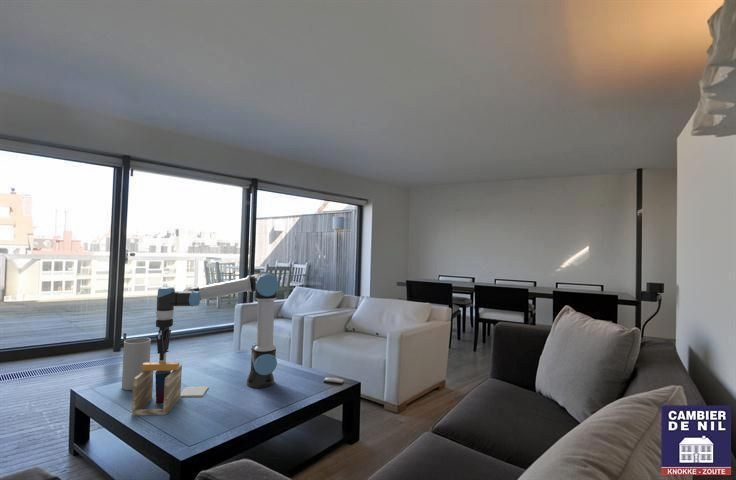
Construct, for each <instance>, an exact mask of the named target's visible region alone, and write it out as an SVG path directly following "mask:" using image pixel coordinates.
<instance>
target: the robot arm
mask: <svg viewBox="0 0 736 480" xmlns="http://www.w3.org/2000/svg"><path fill="white" fill-rule="evenodd" d="M175 289H176V288H175V287H173V286H164V287H159V288H158V289H157V294H156V295H157V296H156V311H155V314H156V316H155V318H156V320H155V327H156V328H158V334H156V336H155V337H156V345H157V346H156V348H157V352H156V353H157V354H159V355H158V362H167V353H169V347H170V340H171V332H172V330H171V329H170V328H172V327H173V325H174V314H175V313H174V310H175V307H197V306H200V304H201V301H203V300H208V299H214V298H218V297H224V296H229V295H234V294H239V293H245V292H250V293H254V299H255V300H256V301H257V318H256V319H257V321H256V323H257V326H256V330H257V331H256V343H253V344H252V345H251V349H250V350H251V354H250V355H251V356H250V371H249V374H248V376H247V379H246V386H247V387H249V388H256V389H263V388H264V389H265V388H267V387H272V385H274V383H275V377H274V374H273V372H274V371H275V370H276V369H277V366H278V361H277V357H276V356H277V348H276V347H277V346H275V344H274V322H275V321H274V319H275V314H274V313H275V300H277V298H278V289H279V280H278V277H276V275H274V274H272V273H270V272H268V271H261V272H257V273H253V274H250V275H246V277H244V278H239V279H232V280H226V281H221V282H216V283H211V284H205V285H200V286H195V287H187V288H185V289H183V291H179V290H177V291H176V290H175Z"/></svg>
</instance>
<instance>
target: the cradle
mask: <svg viewBox="0 0 736 480" xmlns="http://www.w3.org/2000/svg"><path fill="white" fill-rule="evenodd" d="M182 370H183V365H182V364H179V369H178V370H171V373H170V374H169V375H168V376H167V377H166V378H165V385H164V403H163V408H144V407H145V406H146V405H147V404H148V403H149V402H150V401H151V400H152V399H153V386H154V371H143V372H141V373H140V374H139V375H137V376H136V377H135V378H134V379H133V390H132V396H131V397H132V399H131V416H155V415H156V416H158V415H163V416H164V415H167V414H169V412H170V411H171V410H172V409H173V407H174V406H175V405H176V404H177V403H178V401H179V400H180V399H181V397H180V395H181V392H182V390H181V389H182V373H183V372H182ZM143 408H144V409H143Z"/></svg>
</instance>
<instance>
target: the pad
mask: <svg viewBox="0 0 736 480" xmlns="http://www.w3.org/2000/svg"><path fill="white" fill-rule="evenodd" d="M182 389H183V390H181V395H180V398H201V397H202V398H203V397H204V395H205V394H206V392H207V391H208V390H209V386H185V387H184V388H182Z"/></svg>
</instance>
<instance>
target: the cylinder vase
mask: <svg viewBox="0 0 736 480" xmlns="http://www.w3.org/2000/svg"><path fill="white" fill-rule="evenodd" d="M151 343H152V339H151V338H150V337H134V338H128V339H125V340H124V341H123V352H122V353H123V358H122V374H121V376H122V377H121V378H122V379H121V389H123V390H125V391H133V379H134V378H135V377H136V376H137V375H139V374H140V373H141V372H143V371H142V364H143V363H151V362H150V361H151Z"/></svg>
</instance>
